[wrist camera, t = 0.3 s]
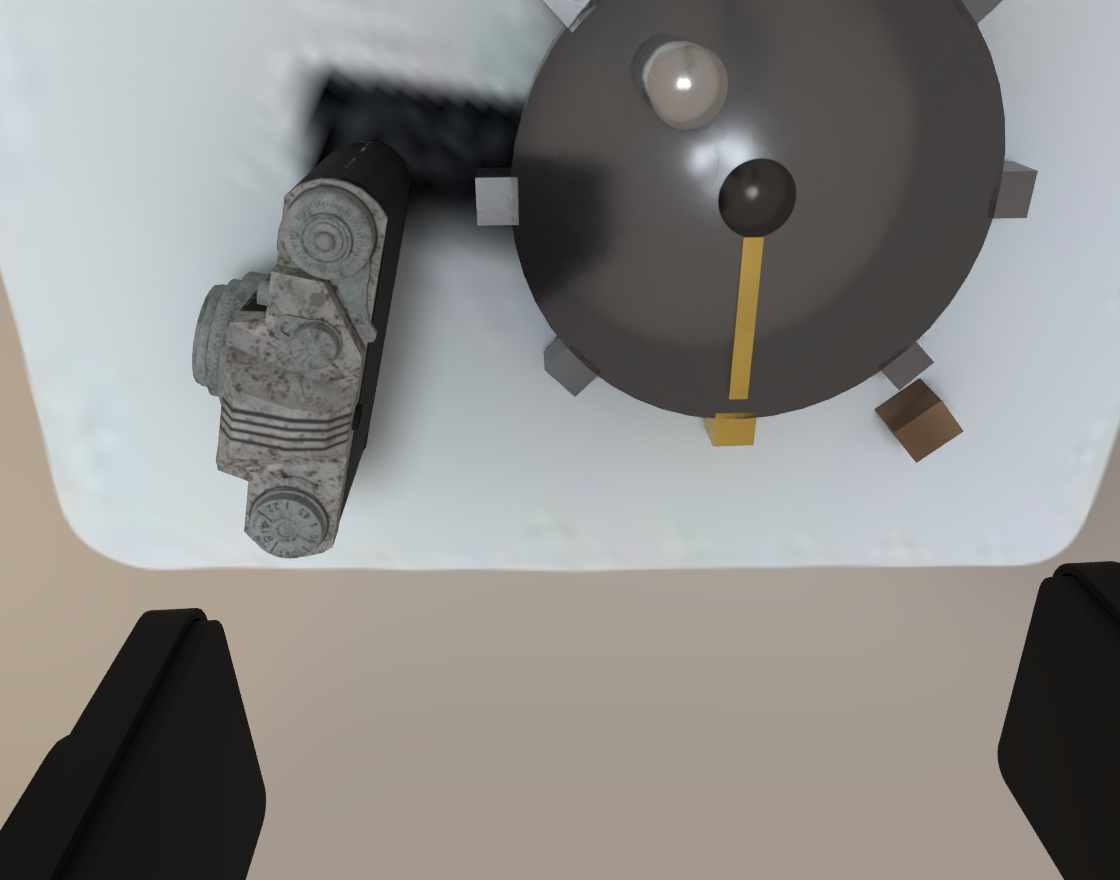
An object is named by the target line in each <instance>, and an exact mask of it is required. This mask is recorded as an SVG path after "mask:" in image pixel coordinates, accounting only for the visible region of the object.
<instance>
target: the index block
mask: <svg viewBox="0 0 1120 880" xmlns="http://www.w3.org/2000/svg"><path fill="white" fill-rule="evenodd" d="M875 410H876V412H877V413H878V414H879V416H880V417H881V418H882V420H883V421H884V422H885V424H886V425H887V426H888V428H889V429H890V430H891V432H892V433H893V434H894V436H895V437H896V438H897V439H898V441H899V442H900V443H901V444H902V446H903V447H904V448H905V449H906V451H907V452H908V453H909V454H910V455H911V457H912V458H913V459H914V460H915V462H916V463H917V462H918V461H920V460H921V459H923V458H924V457H926V456H927V455H929V454H930V453H932V452H933V451H935V450H936V449H938V448H939V447H941V446H942V445H944V444H945V443H947V442H948V441H950V440H951V439H953V438H954V437H956V436H957V435H959V434H960V433H962V432H963V430H962V428H961V427H960V426H959V424H958V423H957V421H956V420H955V419H954V417H953V416H952V414H951V413H950V412H949V410H948V409H947V407H946V406H945V405H944V403H943V402H942V400H941V399H940V398H939V397H938V396H937V395H936V394H935V393H934V392H933V391H932V390H931V389H930V388H929V387H928V386H927V385H926V384H925V383H924V382H923V381H922V380H921V379H918V380H917V381H915V382H914V383H912V384H911V385H910V386H908V387H907V388H905V389H904V390H902V391H901V392H899V393H898V394H897V395H895V396H894V397H892V398H891V399H889V400H888V401H887V402H885V403H884V404H882V405H881V406H879V407H878V408H876V409H875Z"/></svg>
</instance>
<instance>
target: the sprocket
mask: <svg viewBox="0 0 1120 880" xmlns="http://www.w3.org/2000/svg"><path fill="white" fill-rule="evenodd" d="M543 1H544V2H545V3H546V4H547V6H548V7H549V8H550V9H551V10H552V11H553V12H554V13H555V14H556V15H557V16H558V18H559V19H560V20H561V21H562V22H563V23H564V24H565V25H564V27H563V28H562V30H561V31H560V32H559V34H558V35H557V36H556V38H555V39H554V41H553V42H552V44H551V46H550V48H549V49H548V51H547V53H546V55H545V57H544V59H543V60H542V62H541V64H540V66H539V68H538V70H537V71H536V73H535V76H534V79H533V81H532V84H531V86H530V89H529V91H528V94H527V96H526V99H525V102H524V104H523V108H522V112H521V116H520V120H519V124H518V128H517V132H516V136H515V143H514V151H513V159H512V167H496V168H477V172H476V177H475V185H476V205H477V225H513V230H514V238H515V244H516V248H517V252H518V255H519V259H520V263H521V266H522V270H523V273H524V276H525V278H526V281H527V283H528V285H529V288H530V290H531V292H532V295H533V297H534V299H535V302H536V303H537V305H538V307H539V308H540V310H541V312H542V313H543V315H544V317H545V318H546V320H547V322H548V323H549V325H550V327H551V328H552V329H553V331H554V332H555V333H556V334H557V336H558V337H559V338H558V339H557V340H556V341H555V342H554V343H553V344H551V345H550V346H549V347H548V348H547V349H546V350H545V351H544V364H545V370H546V371H547V372H548V373H549V374H550V375H551V376H552V377H553V378H555V379H556V380H557V381H558V382H559V383H560V384H561V385H562V386H564V387H565V388H566V389H567V390H568V391H569V392H570V393H571V394H573V395H574V396H576V395H577V394H579V393H580V392H581V391H582V390H583V389H584V388H585V387H586V386H587V385H588V384H589V383H590V382H592V381H593V380H594V379H595V378H596V377H597V376H599V377H601V378H602V379H603V380H605V381H606V382H607V383H609V384H610V385H612V386H613V387H615V388H617V389H619V390H621V391H623V392H624V393H626V394H628V395H630V396H632V397H634V398H635V399H638V400H640V401H643V402H645V403H648V404H651V405H653V406H656V407H658V408H661V409H665V410H669V411H673V412H677V413H681V414H685V415H689V416H697V417H705V428H706V430H707V433H708V435H709V438H710V440H711V443H712V445H713V446H739V445H753V443H754V434H755V425H756V417H765V416H773V415H778V414H782V413H786V412H790V411H794V410H799V409H803V408H805V407H808V406H811V405H814V404H817V403H819V402H822V401H825V400H828V399H830V398H832V397H834V396H836V395H839V394H841V393H843V392H845V391H847V390H849V389H851V388H853V387H855V386H857V385H859V384H860V383H862V382H863V381H865V380H866V379H868V378H870V377H871V376H873V375H874V374H876V373H878V372H879V371H882V372H883V373H884V374H885V375H886V376H887V377H888V378H889V380H890V381H891V382H892V383H893V384H894V385H895V386H896V387H897V388H898V389H899V390H900V389H901V388H903V387H904V386H905V385H906V384H908V383H909V382H910V381H911V380H913V379H914V378H915V377H916V376H918V375H919V374H920V373H921V372H923V371H924V370H925V369H926V368H928V367H929V366H930V365H931V364H933V363H934V362H933V361H932V360H931V358H930V357H929V356H928V355H927V354H926V353H925V352H924V350H923V349H922V348H921V347H920V346H919V345H918V344H917V342H916V341H917V340H918V339H919V338H920V337H921V336H922V335H923V334H924V333H925V332H926V331H927V330H928V329H929V328H930V327H931V326H932V324H933V323H934V322H935V321H936V320H937V318H938V317H939V316H940V315H941V313H942V312H943V311H944V310H945V309H946V307H947V306H948V305H949V304H950V302H951V301H952V299H953V298H954V296H955V295H956V293H957V292H958V290H959V289H960V287H961V285H962V284H963V282H964V281H965V279H966V278H967V276H968V274H969V272H970V270H971V268H972V266H973V264H974V262H975V260H976V258H977V256H978V255H979V253H980V251H981V249H982V246H983V244H984V241H985V238H986V236H987V233H988V230H989V227H990V225H991V222H992V219H993V218H1027V214H1028V210H1029V205H1030V201H1031V197H1032V193H1033V189H1034V184H1035V180H1036V176H1037V172H1038V171H1036V170H1034V169H1031V168H1029V167H1026V166H1023V165H1021V164H1018V163H1015V162H1013V161H1004V157H1005V117H1004V110H1003V103H1002V97H1001V90H1000V84H999V81H998V77H997V74H996V71H995V67H994V64H993V60H992V57H991V54H990V51H989V49H988V47H987V45H986V43H985V40H984V38H983V36H982V34H981V32H980V30H979V28H978V25H977V24H978V23H979V22H980V21H981V20H982V19H983V18H984V17H985V16H986V15H987V14H988V13H990V12H991V11H992V10H993V9H994V8H995V7H996V6H997V5H998V4H999V3H1000V2H1001V1H1002V0H543Z"/></svg>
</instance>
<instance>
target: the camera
mask: <svg viewBox="0 0 1120 880" xmlns="http://www.w3.org/2000/svg"><path fill="white" fill-rule="evenodd" d="M411 176H412V174H411V172H410V171H409V169H408V167H407V166H406V163H405V161H404V160H403V159H402V158H401V157H400V156H399V155H398V154H397V153H396V152H395V151H394V150H392V149H391V148H390V147H389V146H387V145H385V144H383V143H381V142H379V141H374V142H373V143H372V142H363V141H355V142H352V143H349V144H346V145H343V146H339V147H338V148H337V149H335V150H334V151H333V152H332V153H330V154H329V155H328V156H327V157H326V158H325V159H324V160H323V161H322V162H321V163H320V164H318V165H317V166H316V167H315V168H314V169H313V170H312V171H311V172H310V173H309V174H308V175H307V176H306V177H305V178H303V179H302V180H301V181H300V182H299V183H298V184H297V185H296V186H295V187H294V188H293V189H292V190H291V191H290V192H288V193H287V194H286V195H285V198H284V207H283V216H282V222H281V224H280V228H279V231H278V239H277V249H278V251H279V252H278V261H277V265H276V266H275V267H274V269H273V270H272V271H271V274H270V275H264V274H260V273H255V272H249V273H248V274H246V275H245V277H244V278H243V280H237V279H233V280H231V281H230V282H229V283H228V285H215V286H214V287H212V289H211V290H210V291H209V293H208V295H207V296H206V298H205V301H204V303H203V305H202V308H201V311H200V315H199V318H198V322H197V326H196V331H195V336H194V343H193V353H192V369H193V376H194V379H195V381H196V382H197V383H199V384H201V385H202V386H206V387H207V388H208V390H209V393H210V394H211V395H214V396H219V399H220V402H221V405H222V406H221V418H220V430H219V442H218V450H217V456H216V463H217V467H218V470H219V471H222V472H225V473H228V474H230V475H233V476H236V477H239V478H241V479H244V480H247V481H249V483H248V494H247V506H246V517H245V528H244V532H245V533H246V534H247V535H248V536H249V537H250V538H251V539H252V540H253V541H255V542H256V543H257V544H258V546H260V547H261V548H262V549H263V550H264V551H266V552H268V553H269V554H272V555H274V556H277V557H281V558H298V557H305V556H310V555H314V554H319V553H323V552H325V551H326V550H328V549H330V548H332V547H333V544H334V541H335V538H336V535H337V532H338V527H339V522H340V519H341V516H342V513H343V510H344V507H345V504H346V501H347V498H348V495H349V492H350V489H351V486H352V483H353V480H354V477H355V474H356V471H357V468H358V465H359V462H360V459H361V456H362V453H363V450H364V449H365V447H366V443H367V437H368V431H369V425H370V420H371V414H372V408H373V403H374V397H375V391H376V385H377V380H378V374H379V368H380V362H381V357H382V351H383V345H384V339H385V334H386V328H387V322H388V316H389V310H390V305H391V299H392V293H393V287H394V282H395V276H396V270H397V264H398V259H399V253H400V247H401V241H402V236H403V230H404V224H405V218H406V211H407V202H408V193H409V187H410V182H411Z"/></svg>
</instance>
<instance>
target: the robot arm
mask: <svg viewBox="0 0 1120 880" xmlns="http://www.w3.org/2000/svg"><path fill="white" fill-rule="evenodd" d="M998 763H999V768H1000V771H1001V774H1002V776H1003V779H1004V781H1005V783H1006V784H1007V786H1008V788H1009V789H1010V791H1011V793H1012V794H1013V796H1014V798H1015V799H1016V801H1017V803H1018V804H1019V806H1020V808H1021V809H1022V811H1023V812H1024V814H1025V816H1026V817H1027V819H1028V821H1029V822H1030V824H1031V826H1032V827H1033V829H1034V830H1035V832H1036V834H1037V836H1038V837H1039V839H1040V840H1041V842H1042V844H1043V845H1044V847H1045V849H1046V850H1047V852H1048V854H1049V855H1050V857H1051V859H1052V860H1053V862H1054V864H1055V865H1056V867H1057V869H1058V870H1059V872H1060V873H1061V875H1062V877H1063V878H1064V880H1120V563H1118V562H1113V561H1107V562H1087V563H1067V564H1063V565H1061V566H1059V567H1058V568H1057V569H1056V571H1055V572H1054V574H1053V577H1049V578H1045V579H1044V580H1043V582H1042V583H1041V585H1040V588H1039V591H1038V595H1037V599H1036V603H1035V606H1034V610H1033V614H1032V618H1031V622H1030V625H1029V630H1028V633H1027V637H1026V641H1025V645H1024V649H1023V653H1022V656H1021V660H1020V664H1019V668H1018V672H1017V676H1016V680H1015V683H1014V687H1013V691H1012V695H1011V699H1010V703H1009V706H1008V710H1007V714H1006V718H1005V722H1004V726H1003V729H1002V734H1001V737H1000V741H999V745H998ZM265 809H266V792H265V786H264V782H263V778H262V775H261V771H260V767H259V763H258V759H257V755H256V751H255V748H254V744H253V740H252V736H251V733H250V728H249V725H248V721H247V717H246V713H245V709H244V705H243V702H242V698H241V694H240V690H239V686H238V682H237V679H236V675H235V671H234V667H233V663H232V659H231V656H230V652H229V648H228V644H227V640H226V637H225V633H224V629H223V627H222V624H221V623H220V622H219V621H217V620H207V617H206V615H205V613H204V612H203V611H202V610H201V609H198V608H189V609H171V610H151V611H147V612H145V613H144V614H143V615H142V616H141V617H140V619H139V620H138V622H137V623H136V625H135V627H134V628H133V630H132V632H131V633H130V635H129V636H128V638H127V640H126V641H125V643H124V645H123V646H122V648H121V650H120V651H119V653H118V655H117V656H116V658H115V660H114V662H113V663H112V665H111V666H110V668H109V670H108V671H107V673H106V675H105V676H104V678H103V680H102V681H101V683H100V685H99V686H98V688H97V690H96V691H95V693H94V695H93V696H92V698H91V700H90V701H89V703H88V705H87V706H86V708H85V710H84V711H83V713H82V715H81V716H80V718H79V720H78V721H77V723H76V725H75V726H74V728H73V730H72V731H71V733H70V735H67V736H66V737H64V738H62V739H61V740H59V741H58V742H57V743H56V744H55V745H54V746H53V748H52V749H51V750H50V752H49V753H48V754H47V756H46V757H45V759H44V760H43V762H42V764H41V765H40V767H39V769H38V770H37V772H36V773H35V775H34V777H33V779H32V780H31V782H30V783H29V785H28V787H27V788H26V790H25V792H24V793H23V795H22V796H21V798H20V799H19V801H18V803H17V805H16V806H15V808H14V809H13V811H12V812H11V814H10V816H9V817H8V819H7V821H6V822H5V824H4V825H3V827H2V829H1V830H0V880H246V877H247V873H248V870H249V867H250V864H251V861H252V857H253V854H254V851H255V848H256V844H257V841H258V837H259V835H260V831H261V828H262V825H263V821H264V816H265Z"/></svg>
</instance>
